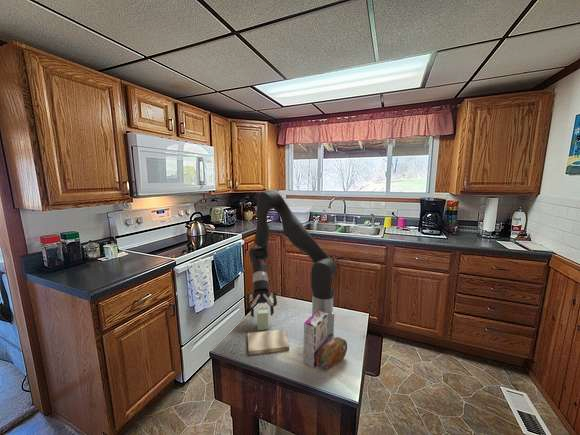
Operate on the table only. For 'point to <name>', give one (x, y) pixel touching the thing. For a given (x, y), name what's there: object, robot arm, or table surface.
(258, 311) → the sage block
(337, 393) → the table surface
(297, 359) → the table surface
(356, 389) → the table surface
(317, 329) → the candy bar box
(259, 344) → the birch board
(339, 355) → the tin
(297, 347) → the table surface
